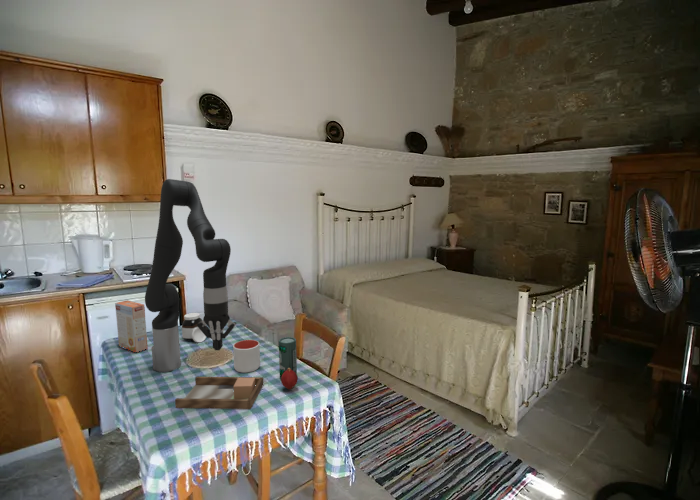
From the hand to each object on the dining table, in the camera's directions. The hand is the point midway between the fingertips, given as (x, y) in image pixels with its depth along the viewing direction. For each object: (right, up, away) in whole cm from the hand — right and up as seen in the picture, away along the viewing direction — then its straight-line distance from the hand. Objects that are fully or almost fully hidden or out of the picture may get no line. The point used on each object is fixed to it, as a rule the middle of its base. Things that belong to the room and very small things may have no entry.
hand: (217, 349), depth 129 cm
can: (+21, -15, +15) cm, 30 cm away
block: (+8, -16, +3) cm, 19 cm away
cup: (+4, -14, +24) cm, 28 cm away
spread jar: (-29, -10, +55) cm, 63 cm away
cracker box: (-53, -11, +44) cm, 70 cm away
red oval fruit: (+23, -16, +7) cm, 29 cm away
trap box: (0, -17, +3) cm, 17 cm away
